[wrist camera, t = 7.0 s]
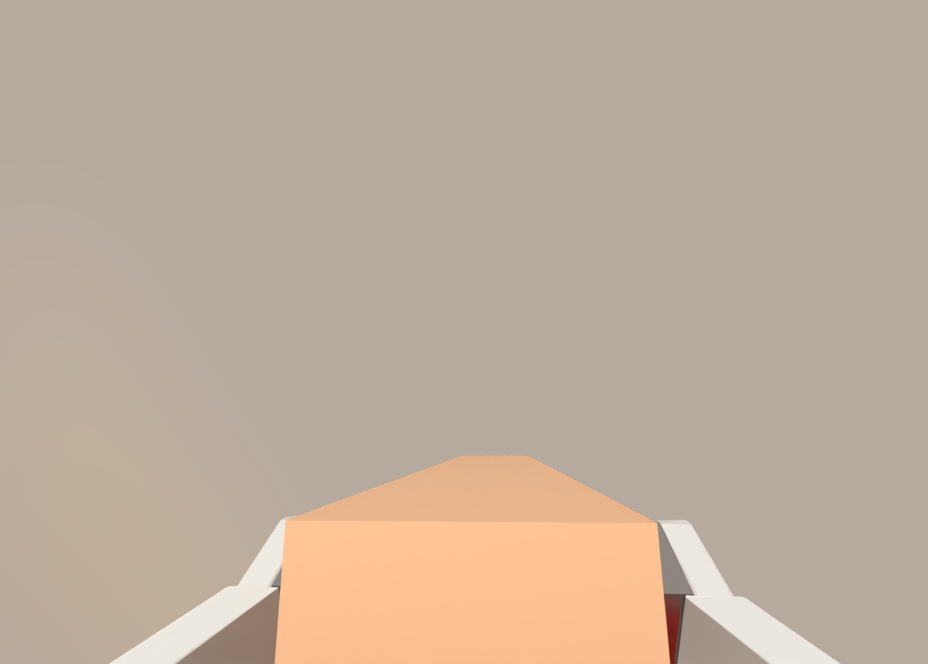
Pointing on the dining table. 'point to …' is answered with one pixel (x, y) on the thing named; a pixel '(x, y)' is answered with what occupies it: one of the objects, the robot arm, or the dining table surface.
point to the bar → (473, 573)
